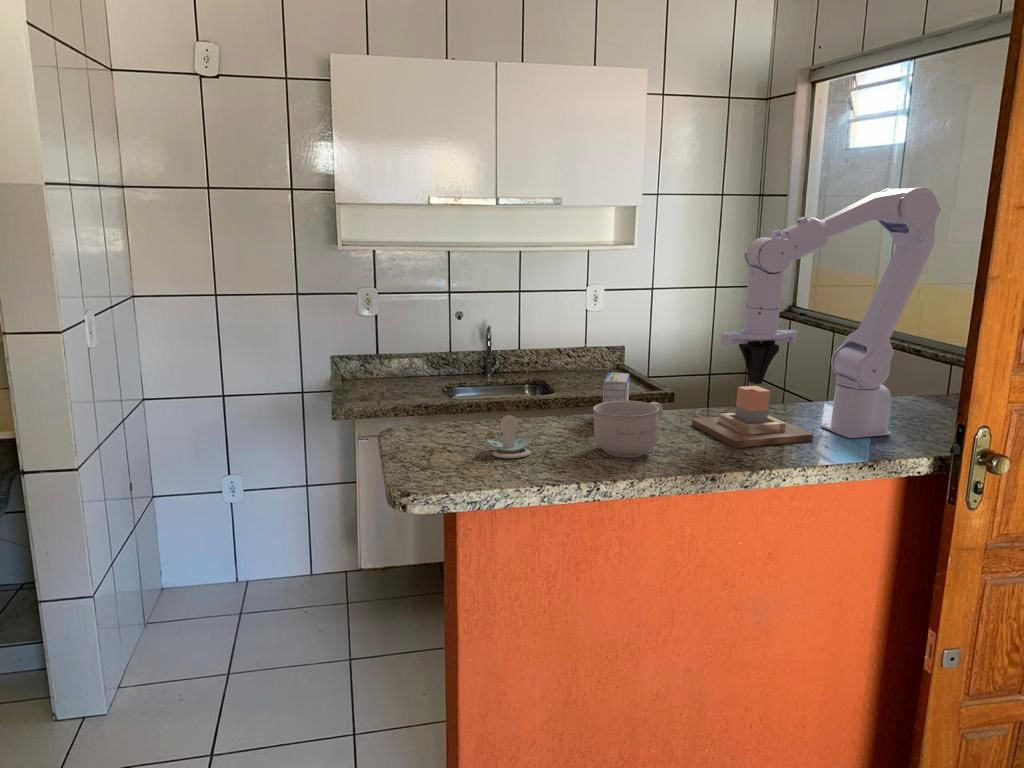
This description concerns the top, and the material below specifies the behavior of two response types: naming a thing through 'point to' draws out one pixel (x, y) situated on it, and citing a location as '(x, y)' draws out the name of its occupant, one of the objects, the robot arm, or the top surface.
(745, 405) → the square peg
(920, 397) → the top surface
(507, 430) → the pacifier
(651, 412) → the teacup
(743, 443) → the socket board
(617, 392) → the medicine box
